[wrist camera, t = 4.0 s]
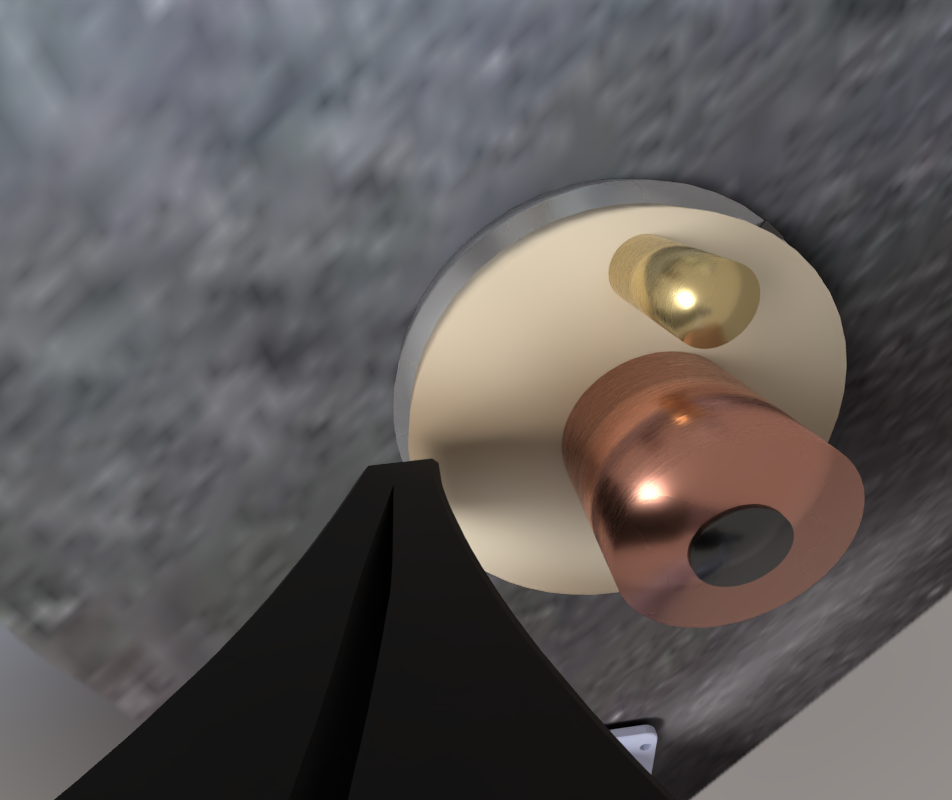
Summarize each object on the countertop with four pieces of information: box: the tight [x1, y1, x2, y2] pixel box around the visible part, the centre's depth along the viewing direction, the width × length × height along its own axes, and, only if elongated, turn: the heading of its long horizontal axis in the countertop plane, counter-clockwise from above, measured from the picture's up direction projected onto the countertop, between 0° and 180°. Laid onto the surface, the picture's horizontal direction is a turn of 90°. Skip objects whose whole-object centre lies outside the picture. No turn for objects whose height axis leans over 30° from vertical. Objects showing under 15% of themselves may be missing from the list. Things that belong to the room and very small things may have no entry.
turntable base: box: [393, 178, 786, 462], centre depth 12 cm, size 10×10×1 cm
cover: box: [562, 351, 865, 628], centre depth 9 cm, size 4×4×3 cm
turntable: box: [408, 203, 847, 594], centre depth 10 cm, size 10×10×4 cm
